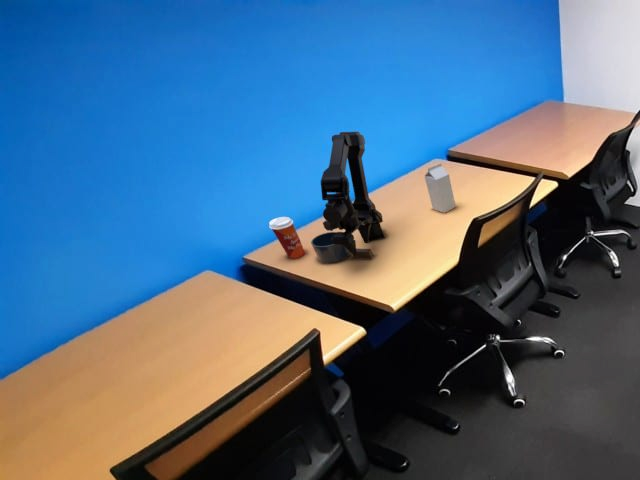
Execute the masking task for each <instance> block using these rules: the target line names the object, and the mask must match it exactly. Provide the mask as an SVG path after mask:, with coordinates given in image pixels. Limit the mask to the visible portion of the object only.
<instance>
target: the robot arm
mask: <svg viewBox="0 0 640 480" xmlns="http://www.w3.org/2000/svg"><path fill="white" fill-rule="evenodd" d="M331 141H332V144H331V152H330V156H329V157H330V158H329V165H328V167H327V168H326V169H325V170H324V171H323V172H322V174H321V175H322V176H321V179H320V189H321V190H320V191H321V200H322V201H327V202H326V203H325V206H324V207H325V208H324V209H323V212H322V217H323V218H324V221H323V222H322V225H323V227H324V229H325V230H326V231H327V232H334V230H337V229H338V230H340V231H336V232H337V233H336V234H335V235H334V236H333V237H332V238H331V239H332V242H333V244H337V245H343V246H344V247H345V248H346V249H347V250H348V251H349V252H350V255H351V256H352V255H353V256H356V248H357V243H356V239H355V236H354V233H355V232H356V231H357V230H358V232H359V234H360V236H361V239H362V241H363V242H364V244H369V242H371V241H375V240H379V239H384V238H385V236H386V235H385V234H384V231H383V228H382V226H381V224H382V223H383V222H384V220H383V215H382V213H381V212H380V211H378V209H376V205H375V203H374V202H373V201H372V199H370V197H369V191H368V186H367V185H368V184H367V180H366V173H365V168H364V163H363V155H364V153H365V151H366V147H365V145H366V139H365V136H364V135H363V134H361V133H360V132H359V131H340V132H339V134H333V135H332V136H331ZM347 163H348V168H349V175H350V179H351V185H352V189H353V190H352V191H353V195H354V200H353V202H352V199H351V197H350V192H351V191H350V182H349V178H348V177H347V175H346V169H347ZM343 230H344V231H343ZM353 256H352V257H353Z"/></svg>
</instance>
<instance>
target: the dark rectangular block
mask: <svg viewBox="0 0 640 480" xmlns="http://www.w3.org/2000/svg"><path fill="white" fill-rule="evenodd" d="M351 256H352V258H353V259H363V260H365V259H366V260H372V259H373V258H374V257H375V256H374V252H373V250H372V248H357V247H356V256H353V255H352V254H351Z"/></svg>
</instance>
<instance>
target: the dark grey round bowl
mask: <svg viewBox="0 0 640 480" xmlns="http://www.w3.org/2000/svg"><path fill="white" fill-rule="evenodd" d="M337 232H338V231H327V232H323V233H321V234H318V235H316V236H315V237H313V238H312V239H311V241H310V244H311V246H312V248H313V251H314V253H315V255H316V257H317V259H318V261H319V262H320V263H323V264H335V263H339V262H342V261H344V260H346V259H347V258H348V257H350V255H351V253H350V252H349V251H348V250H347V249H346V248H345V247H344V246H343V245H337V244H333V242H332V239H331V238H332V237H333V236H334V235H335V234H336V233H337Z"/></svg>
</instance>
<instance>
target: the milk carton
mask: <svg viewBox="0 0 640 480" xmlns="http://www.w3.org/2000/svg"><path fill="white" fill-rule="evenodd" d="M427 170H428V171H427V172H426V174H425V175H424V179H425V184H426V187H427V191H428V196H429V200H430V204H431V208H432V210H435V211H437V212H439V213H443V214H445V213H447V212H449V211H451V210H453V209H455V208H456V207H457V206H456V201H455V196H454V192H453V186H452V183H451V178H450V174H449V172H448V171H447V170H446V169H445V168H444V167H443V164H442V163H441V162H439V163H437V164H434V165H432V166H430V167H427Z"/></svg>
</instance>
